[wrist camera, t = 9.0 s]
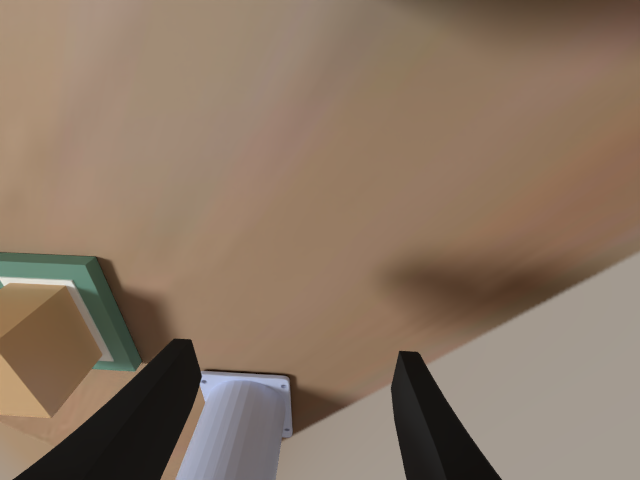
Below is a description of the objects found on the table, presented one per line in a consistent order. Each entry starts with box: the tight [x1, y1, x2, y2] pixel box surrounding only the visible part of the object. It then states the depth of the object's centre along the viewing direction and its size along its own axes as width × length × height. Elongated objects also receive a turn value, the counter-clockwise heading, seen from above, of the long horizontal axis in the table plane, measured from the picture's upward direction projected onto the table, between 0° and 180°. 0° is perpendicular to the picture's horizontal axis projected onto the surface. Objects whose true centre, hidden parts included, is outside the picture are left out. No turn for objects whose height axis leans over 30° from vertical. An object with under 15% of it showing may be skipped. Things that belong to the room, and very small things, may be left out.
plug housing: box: [0, 283, 103, 418], centre depth 20 cm, size 7×4×5 cm, turn 179°
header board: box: [0, 252, 142, 371], centre depth 22 cm, size 11×8×4 cm
